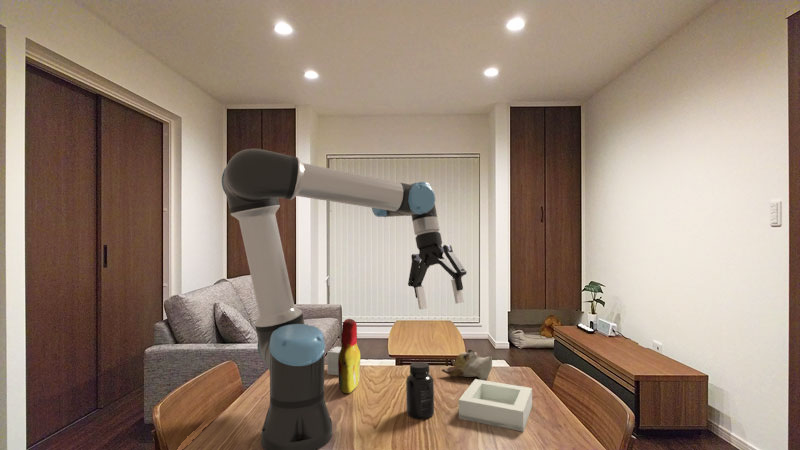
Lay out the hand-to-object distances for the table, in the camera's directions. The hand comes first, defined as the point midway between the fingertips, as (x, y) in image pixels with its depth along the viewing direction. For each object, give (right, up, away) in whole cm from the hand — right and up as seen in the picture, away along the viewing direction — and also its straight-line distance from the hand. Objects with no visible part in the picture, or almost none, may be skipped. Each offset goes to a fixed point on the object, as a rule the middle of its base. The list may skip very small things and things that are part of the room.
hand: (440, 306), depth 112 cm
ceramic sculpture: (+10, -25, +11) cm, 29 cm away
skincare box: (-31, -25, +15) cm, 43 cm away
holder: (+13, -24, -14) cm, 30 cm away
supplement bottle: (-7, -24, -15) cm, 29 cm away
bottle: (-27, -24, +2) cm, 36 cm away
